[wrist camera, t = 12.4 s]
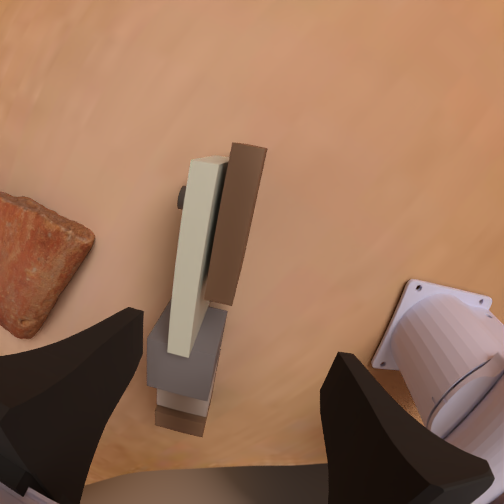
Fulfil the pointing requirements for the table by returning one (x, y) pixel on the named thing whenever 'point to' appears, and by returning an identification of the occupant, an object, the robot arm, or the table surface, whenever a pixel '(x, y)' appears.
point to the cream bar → (195, 250)
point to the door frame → (220, 272)
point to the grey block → (182, 368)
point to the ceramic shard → (35, 261)
